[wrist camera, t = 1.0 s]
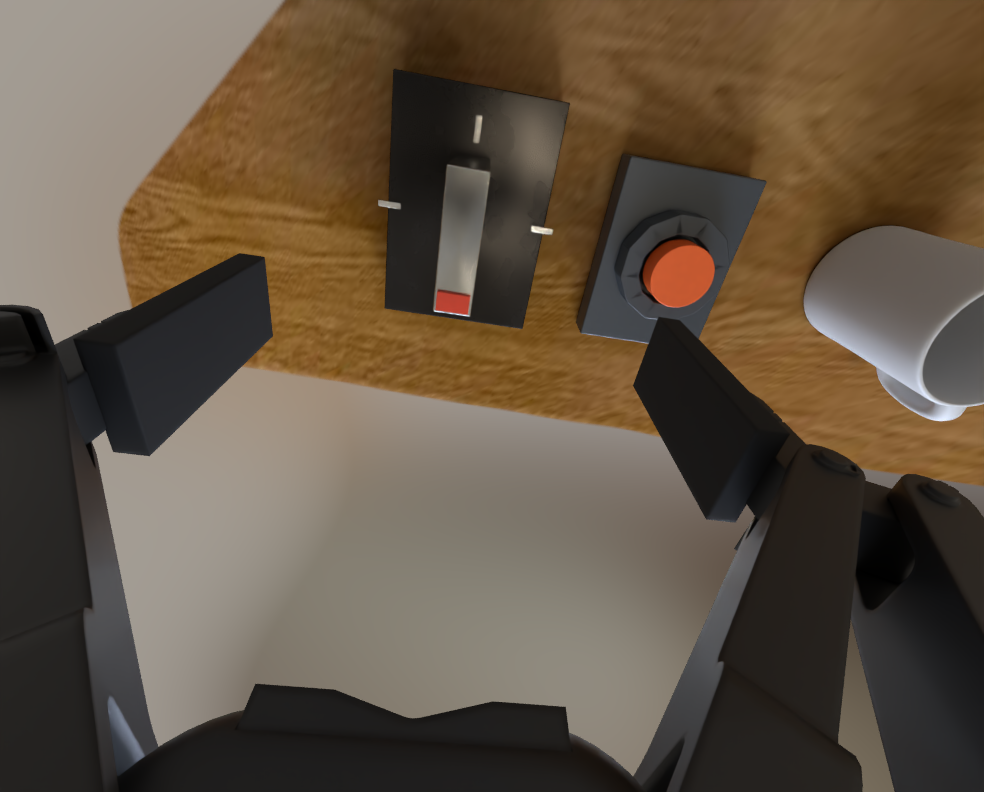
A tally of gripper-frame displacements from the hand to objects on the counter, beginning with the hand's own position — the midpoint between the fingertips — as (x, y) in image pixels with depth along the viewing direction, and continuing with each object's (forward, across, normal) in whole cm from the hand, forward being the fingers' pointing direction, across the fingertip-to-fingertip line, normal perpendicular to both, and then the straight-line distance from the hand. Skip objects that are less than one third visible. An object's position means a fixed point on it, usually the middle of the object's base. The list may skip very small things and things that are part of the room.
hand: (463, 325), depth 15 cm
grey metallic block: (+16, -1, +1) cm, 16 cm away
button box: (+19, +13, 0) cm, 23 cm away
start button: (+16, +13, 0) cm, 21 cm away
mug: (+19, +30, -1) cm, 36 cm away
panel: (+19, -1, +1) cm, 19 cm away
